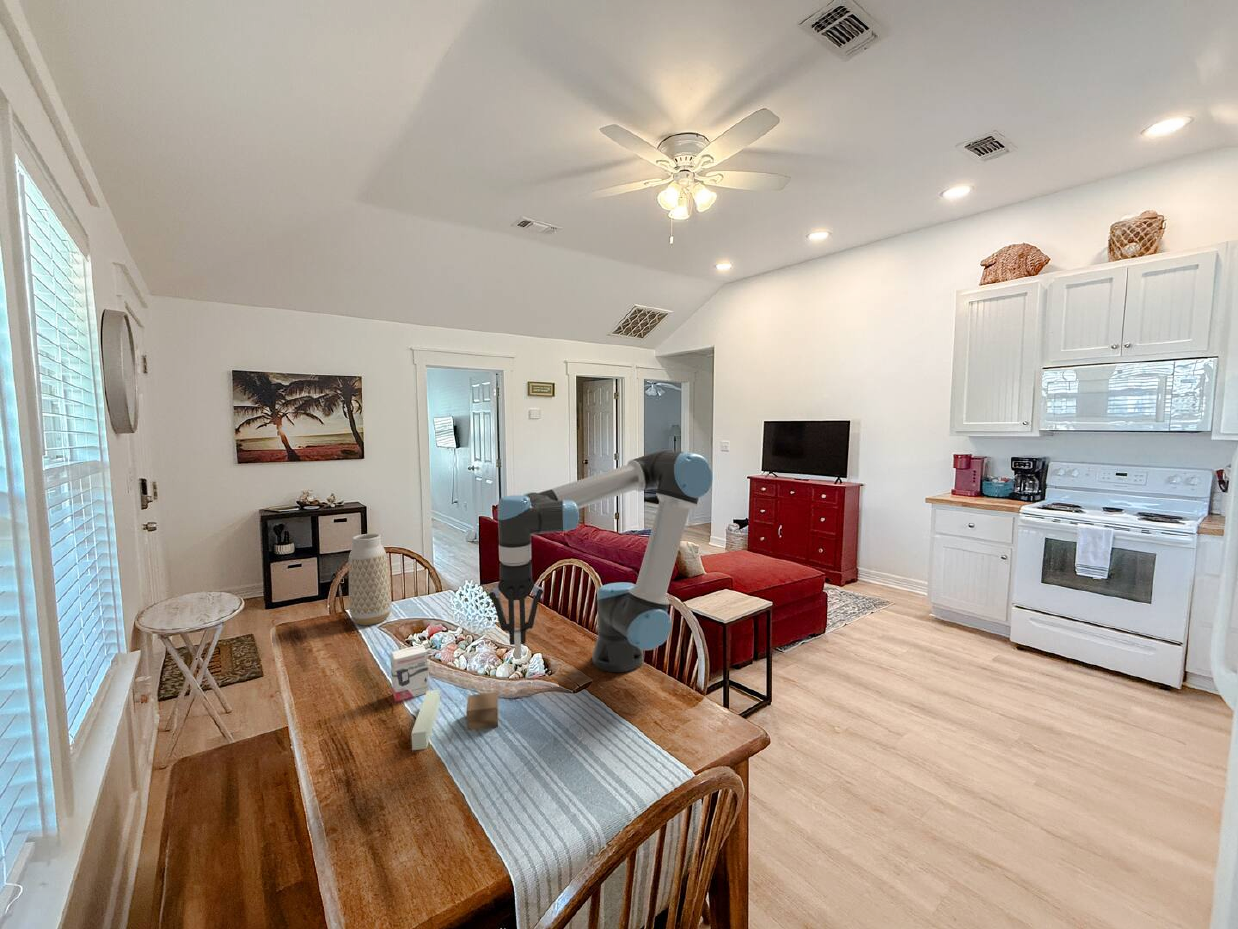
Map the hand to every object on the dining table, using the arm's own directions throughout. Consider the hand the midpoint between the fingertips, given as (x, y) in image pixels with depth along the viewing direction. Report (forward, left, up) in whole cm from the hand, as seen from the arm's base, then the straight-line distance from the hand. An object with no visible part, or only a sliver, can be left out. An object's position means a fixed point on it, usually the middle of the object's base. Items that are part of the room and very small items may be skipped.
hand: (518, 656), depth 129 cm
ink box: (+29, -16, -16) cm, 36 cm away
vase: (+54, -71, -16) cm, 90 cm away
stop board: (+22, 0, -15) cm, 27 cm away
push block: (+9, 0, -16) cm, 18 cm away
